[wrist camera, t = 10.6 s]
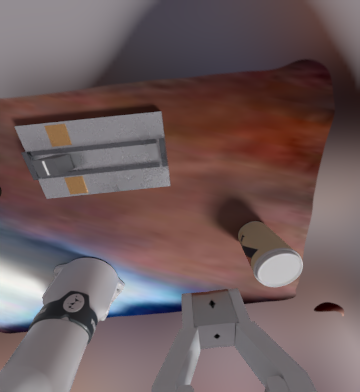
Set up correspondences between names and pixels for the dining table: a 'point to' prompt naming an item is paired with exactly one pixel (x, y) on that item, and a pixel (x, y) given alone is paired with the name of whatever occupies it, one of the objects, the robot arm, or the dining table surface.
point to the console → (100, 153)
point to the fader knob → (53, 165)
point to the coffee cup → (269, 255)
